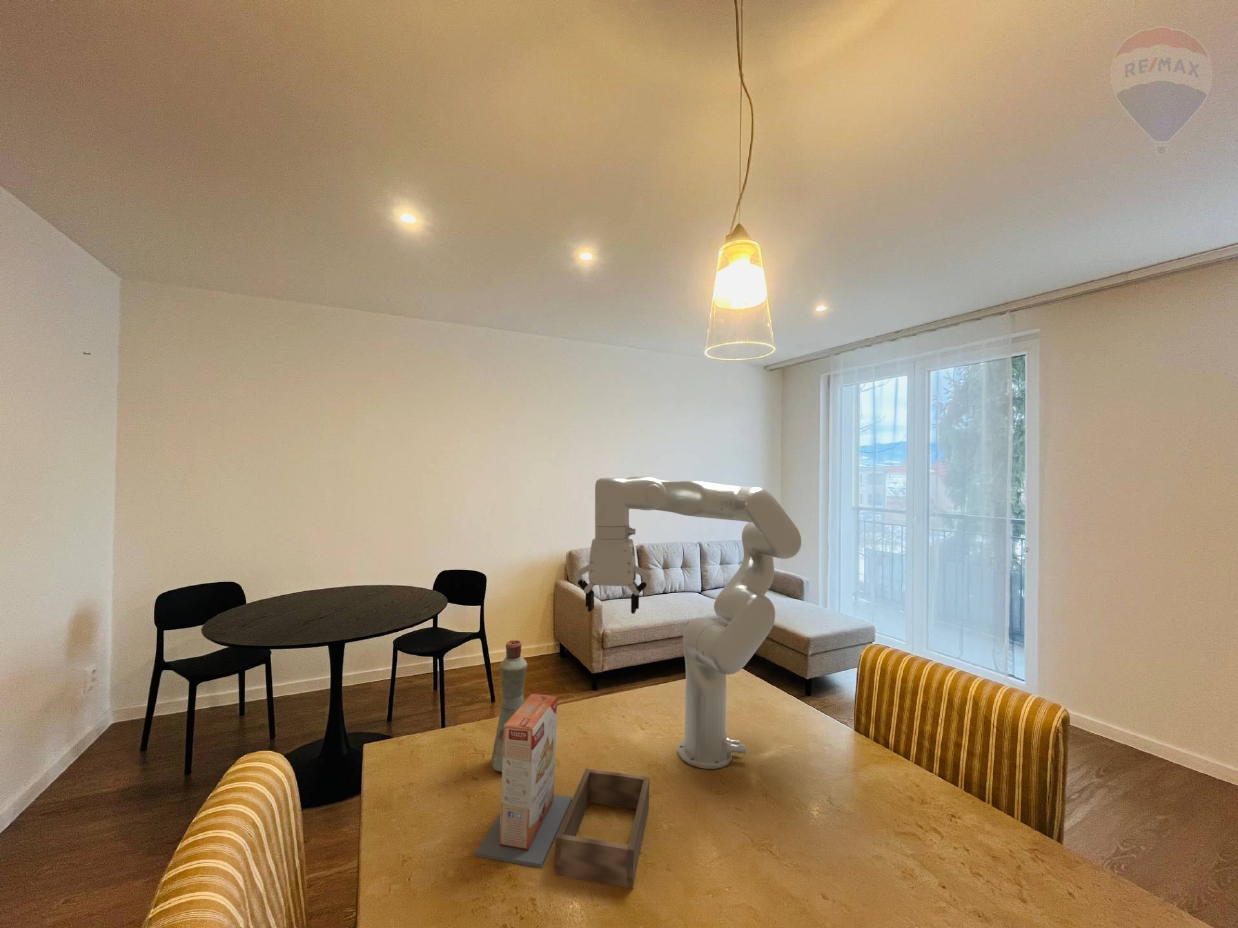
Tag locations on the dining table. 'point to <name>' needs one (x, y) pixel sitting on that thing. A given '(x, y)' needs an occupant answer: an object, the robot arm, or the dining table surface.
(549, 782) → the cracker box
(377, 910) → the dining table surface
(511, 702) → the bottle
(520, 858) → the slate mat
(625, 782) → the walnut crate
